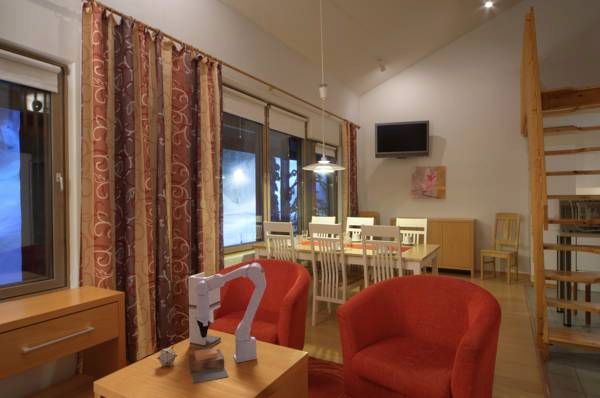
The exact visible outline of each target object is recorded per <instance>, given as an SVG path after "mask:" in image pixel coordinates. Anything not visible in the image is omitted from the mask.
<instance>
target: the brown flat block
mask: <svg viewBox="0 0 600 398" xmlns="http://www.w3.org/2000/svg"><path fill="white" fill-rule="evenodd" d="M216 351H217V357H216V358H210V359H205V360H199V361H196V358H195V352H194V353H193V352H192V353H189V354H188V365H189V370H190V374H191V373H195V372H200V371H205V370H211V369H216V368H221V367H225V358H224V355H223V353H222V351H221V349H220V348H218V349H216Z"/></svg>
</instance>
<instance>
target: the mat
mask: <svg viewBox="0 0 600 398" xmlns="http://www.w3.org/2000/svg"><path fill="white" fill-rule="evenodd" d="M190 375H191V378H192V383H193V384H194V385H195V384H199V383H206V382H210V381H215V380H221V379H224V378H225V379H226V378H229V374H228V372H227V370H226V367H225V366H224V367H221V368H216V369H211V370H205V371H200V372H195V373H191V372H190Z"/></svg>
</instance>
